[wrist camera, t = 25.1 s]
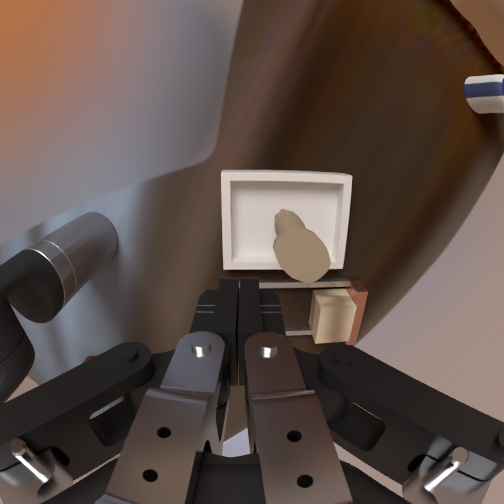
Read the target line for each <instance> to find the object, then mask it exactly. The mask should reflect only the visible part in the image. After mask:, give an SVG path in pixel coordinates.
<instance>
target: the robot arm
mask: <svg viewBox="0 0 504 504" xmlns="http://www.w3.org/2000/svg"><path fill="white" fill-rule="evenodd" d="M117 244H118V242H117V234H116V231H115V229H114V227H113V225H112V224H111V222H110V221H109V220H108V219H107V218H106V217H104V216H103V215H101V214H99V213H94V212H91V213H87V214H84V215H82V216H80V217H78V218H77V219H75V220H73V221H71V222H69V223H67V224H66V225H64V226H62V227H60V228H59V229H57V230H55V231H53V232H52V233H50V234H48V235H47V236H45V237H43V238H42V239H40V240H38V241H37V242H35V243H34V244H32V245H31V246H29V247H27V248H26V249H24V250H23V251H21V252H19V253H18V254H16V255H15V256H14V257H12V258H11V259H9V260H8V261H6V262H5V263H3V264H2V265H0V497H1V499H2V501H3V503H4V504H481V503H482V501H483V498H484V497H485V494H486V492H487V490H488V487H489V485H490V483H491V480H492V479H493V478H494V476H496V475H497V474H498V473H500V472H501V471H502V470H503V469H504V422H502V421H499V420H497V419H495V418H493V417H491V416H489V415H486V414H484V413H482V412H480V411H478V410H476V409H474V408H472V407H470V406H468V405H466V404H464V403H462V402H460V401H458V400H456V399H454V398H451V397H449V396H448V395H445V394H443V393H442V392H439V391H437V390H436V389H434V388H432V387H430V386H428V385H426V384H424V383H422V382H420V381H418V380H416V379H414V378H412V377H410V376H408V375H406V374H405V373H403V372H401V371H399V370H397V369H395V368H393V367H391V366H389V365H388V364H386V363H384V362H382V361H380V360H378V359H376V358H375V357H373V356H371V355H369V354H367V353H365V352H363V351H361V350H360V349H358V348H356V347H354V346H351V345H347V344H335V345H331V346H328V347H327V348H325V349H324V350H323V351H322V352H321V355H317V354H311V353H306V352H303V351H300V350H298V349H296V348H294V347H293V346H292V343H291V341H290V340H289V339H288V338H287V337H286V332H285V327H284V321H283V316H282V312H281V306H280V301H279V296H278V295H277V294H276V293H275V292H274V291H273V290H260V289H259V278H240V293H239V278H220V282H219V287H218V290H206V291H205V292H204V293H203V294H202V295H201V296H200V297H199V301H198V306H197V308H196V312H195V315H194V319H193V322H192V326H191V330H190V333H189V334H188V335H186V336H184V337H183V338H182V339H181V340H180V341H179V343H178V345H177V348H176V349H175V350H172V351H169V352H163V353H157V354H151V350H150V349H149V348H148V347H147V346H146V345H145V344H142V343H139V342H126V343H122V344H119V345H117V346H115V347H113V348H111V349H109V350H108V351H106V352H104V353H102V354H100V355H98V356H96V357H94V358H92V359H90V360H88V361H87V362H85V363H83V364H81V365H79V366H77V367H75V368H73V369H71V370H69V371H67V372H65V373H63V374H61V375H59V376H57V377H55V378H54V379H52V380H50V381H48V382H46V383H44V384H42V385H40V386H38V387H36V388H34V389H32V390H30V391H28V392H26V393H24V394H22V395H20V396H18V397H16V398H14V399H12V400H10V401H8V402H6V403H5V401H6V400H7V399H8V398H9V397H10V396H11V394H12V393H13V392H14V391H15V390H16V389H17V388H18V387H19V385H20V384H21V383H22V381H23V380H24V379H25V377H26V376H27V374H28V373H29V371H30V369H31V368H32V365H33V363H34V358H35V351H34V348H33V346H32V344H31V342H30V340H29V338H28V336H27V335H26V333H25V331H24V329H23V328H22V326H21V324H20V322H19V320H18V319H17V317H16V315H15V313H14V311H13V309H12V307H11V305H12V306H13V307H14V308H15V309H16V310H17V311H18V312H19V313H20V314H21V315H23V316H24V317H25V318H27V319H29V320H30V321H33V322H36V323H46V322H48V321H50V320H52V319H53V318H54V317H55V316H56V315H57V314H58V313H59V311H60V310H61V309H62V308H63V307H64V306H65V305H66V304H67V303H68V302H69V301H70V299H71V298H72V297H73V296H74V295H75V294H76V293H77V292H78V291H79V290H80V289H81V288H82V287H83V286H84V285H85V284H86V283H87V282H88V281H89V280H90V279H91V278H92V277H93V276H94V275H95V274H96V273H97V272H98V271H99V270H100V269H101V268H102V267H103V266H104V265H105V264H106V263H107V262H108V261H109V260H110V259H111V258H112V257H113V255H114V254H115V252H116V249H117ZM9 303H10V304H11V305H10V304H9ZM238 357H239V385H245V408H246V417H247V427H248V436H249V445H250V454H248V455H243V456H238V457H224V456H222V447H223V440H224V434H225V427H226V421H227V415H228V408H229V397H230V391H231V385H233V386H237V384H238ZM121 396H122V398H123V401H121V402H120V403H118V404H116V405H115V406H113V407H111V408H110V409H108V410H106V411H105V412H103V413H101V414H100V415H98V416H96V417H94V418H92V419H89V418H90V416H91V415H92V414H93V413H94V412H96V411H98V410H100V409H101V408H103V407H105V406H106V405H108V404H110V403H111V402H113V401H115V400H116V399H118V398H120V397H121ZM354 403H355V404H357V405H359V406H360V407H362V408H363V409H365V410H366V411H365V410H363V409H362V408H360V407H358V406H357V405H355V404H354ZM367 411H368V412H370V413H371V414H373V415H375V416H376V417H375V416H373V415H371V414H370V413H368V412H367ZM377 417H378V418H379V419H378V418H377ZM380 419H381V420H380ZM333 442H335V443H336V444H338V445H339V446H341V447H342V448H343V449H345V450H346V451H348V452H349V453H351V454H352V455H354V456H355V457H357V458H358V459H360V460H361V461H363V462H364V463H366V464H368V465H369V466H371V467H372V468H374V469H376V470H377V471H379V472H380V473H382V474H384V475H385V476H387V477H389V478H390V479H392V480H394V481H396V482H397V483H399V484H401V485H403V486H402V494H403V498H402V497H401V496H399V495H397V494H396V493H394V492H393V491H391V490H389V489H388V488H386V487H385V486H383V485H381V484H380V483H379V482H377V481H376V480H374V479H373V478H371V477H370V476H368V475H367V474H365V473H364V472H362V471H361V470H359V469H358V468H356V467H354V466H353V465H351V464H349V463H346V462H344V461H341V460H339V458H338V455H337V452H336V449H335V446H334V443H333ZM119 453H120V456H119V457H118V458H116V459H114V460H112V461H110V462H108V463H107V464H105V465H104V466H102V467H101V468H99V469H98V470H96V471H95V472H93V473H92V474H90V475H88V476H87V477H85V478H84V479H82V480H80V481H79V482H77V483H76V484H74V485H73V481H74V480H75V479H77V478H79V477H81V476H83V475H84V474H86V473H88V472H89V471H91V470H93V469H95V468H96V467H98V466H99V465H101V464H103V463H104V462H106V461H108V460H109V459H111V458H112V457H114V456H116V455H117V454H119Z"/></svg>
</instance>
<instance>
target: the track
mask: <svg viewBox="0 0 504 504" xmlns="http://www.w3.org/2000/svg"><path fill="white" fill-rule="evenodd" d="M310 287H346V290H347V292H348V293H349V295H350V297H351V298H352V300H353V301H354V303H355V305H356V306H357V308H356V312H355V317H354V321H353V326H352V330H351V334H350V338H349V341H343V342H344V344H347V345H355V344H356V340H357V336H358V332H359V329H360V325H361V320H362V316H363V312H364V308H365V303H366V299H367V294H368V291H367V289H366V288H365V287H364V285H363V284H362V283H361V281H360V280H359V279H358V278H328V279H318V280H316V281H314V282H311V283H305V282H302V281H299V280H296V279H259V288H310ZM239 288H240V279H239ZM285 332H286V336H290V335H312V332H311V328H310V327H285Z"/></svg>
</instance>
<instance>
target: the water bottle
mask: <svg viewBox="0 0 504 504" xmlns="http://www.w3.org/2000/svg"><path fill="white" fill-rule="evenodd" d="M464 92H465V96H466V99H467V101H468V103H469V105H470V107H471V108H472V109H473V110H474V111H475V112H477V113H479V114H483V113H504V75H488V76H474V77H468V78H467V79H466V81H465V84H464Z"/></svg>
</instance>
